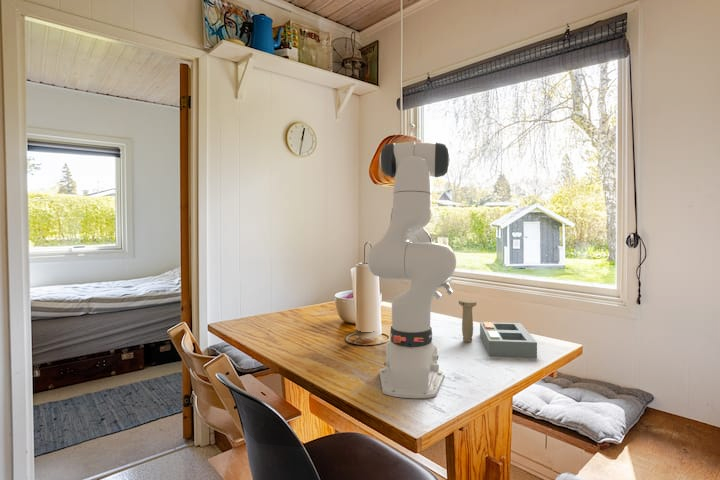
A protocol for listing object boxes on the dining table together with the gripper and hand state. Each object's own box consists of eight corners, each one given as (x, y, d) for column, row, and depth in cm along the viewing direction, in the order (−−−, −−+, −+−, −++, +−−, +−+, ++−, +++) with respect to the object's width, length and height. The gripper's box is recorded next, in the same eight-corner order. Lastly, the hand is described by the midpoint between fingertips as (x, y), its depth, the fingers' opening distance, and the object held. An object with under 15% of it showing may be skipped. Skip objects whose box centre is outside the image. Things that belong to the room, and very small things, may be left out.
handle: (470, 344, 144) (470, 303, 143) (456, 340, 149) (456, 300, 148) (478, 341, 147) (478, 301, 146) (464, 337, 152) (464, 298, 151)
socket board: (536, 357, 130) (537, 340, 130) (488, 355, 133) (488, 338, 132) (520, 336, 154) (520, 321, 153) (480, 334, 156) (480, 320, 156)
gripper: (414, 265, 149) (437, 294, 143) (440, 260, 165) (462, 286, 159) (404, 276, 152) (426, 305, 147) (431, 270, 168) (452, 296, 162)
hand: (445, 295), depth 153 cm, fingers open, 8 cm apart
